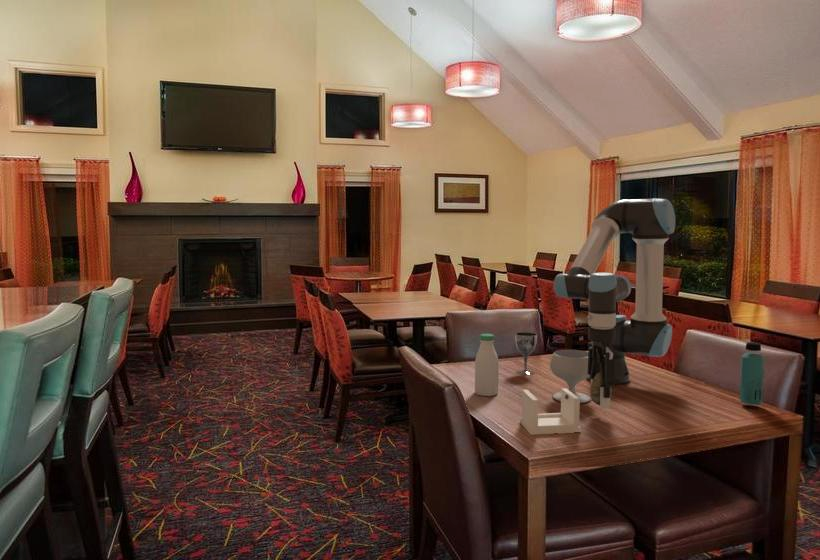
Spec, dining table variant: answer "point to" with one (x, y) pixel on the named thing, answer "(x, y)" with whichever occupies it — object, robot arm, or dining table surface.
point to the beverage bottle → (752, 375)
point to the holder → (551, 415)
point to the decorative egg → (596, 389)
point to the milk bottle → (486, 367)
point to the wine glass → (525, 348)
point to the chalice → (570, 370)
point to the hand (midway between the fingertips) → (600, 404)
